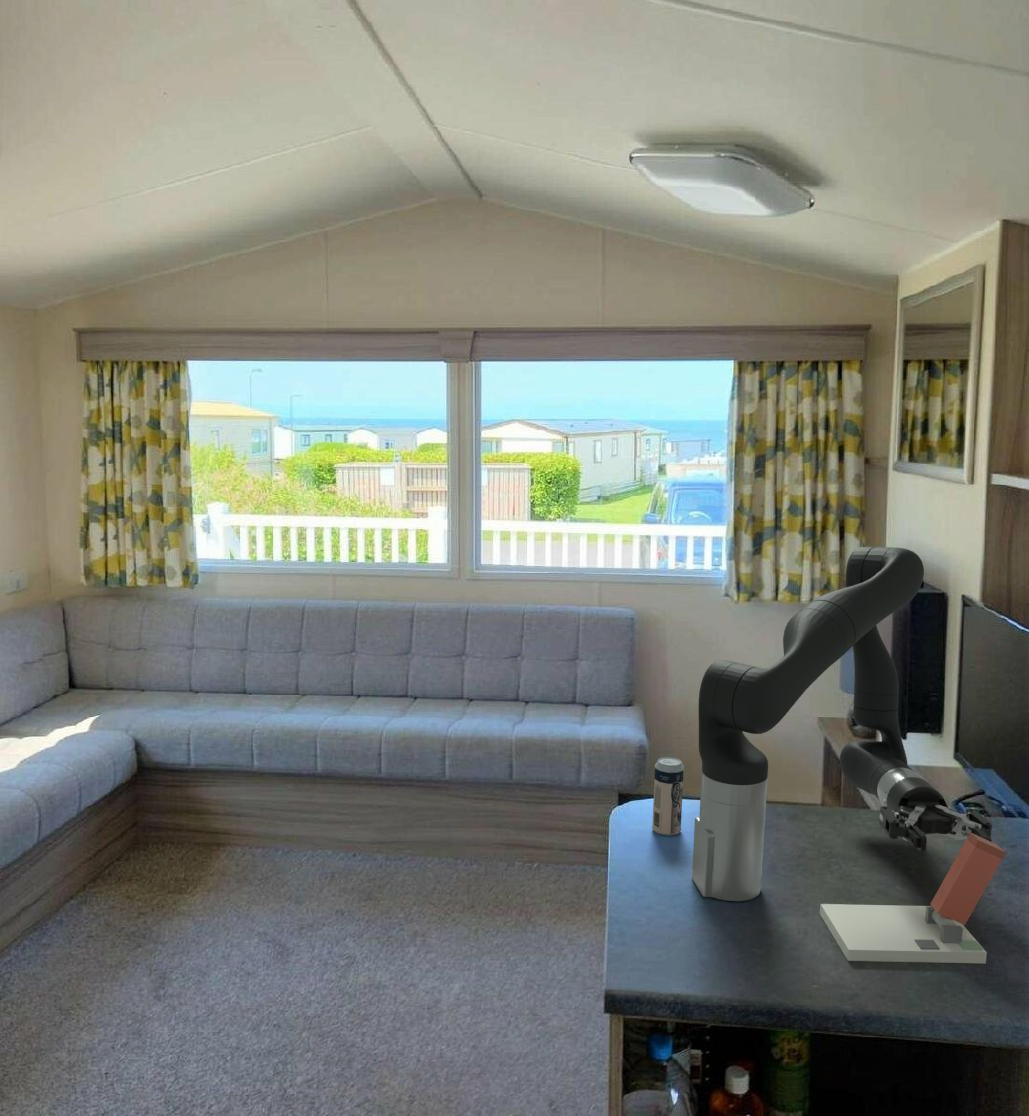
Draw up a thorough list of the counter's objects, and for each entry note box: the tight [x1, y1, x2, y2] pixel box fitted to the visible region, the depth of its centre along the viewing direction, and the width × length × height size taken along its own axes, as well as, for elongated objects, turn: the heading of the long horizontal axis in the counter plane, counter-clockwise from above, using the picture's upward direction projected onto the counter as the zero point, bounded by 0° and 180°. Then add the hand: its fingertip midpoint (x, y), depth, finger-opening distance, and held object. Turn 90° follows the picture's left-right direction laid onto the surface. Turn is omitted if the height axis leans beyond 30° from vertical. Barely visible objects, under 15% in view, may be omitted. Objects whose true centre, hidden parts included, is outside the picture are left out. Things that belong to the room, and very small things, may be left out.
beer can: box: [651, 756, 685, 837], centre depth 167 cm, size 5×5×12 cm
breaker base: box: [819, 903, 988, 965], centre depth 135 cm, size 18×12×4 cm
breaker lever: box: [930, 832, 1007, 928], centre depth 133 cm, size 4×3×13 cm
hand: (955, 845), depth 138 cm, fingers open, 8 cm apart
